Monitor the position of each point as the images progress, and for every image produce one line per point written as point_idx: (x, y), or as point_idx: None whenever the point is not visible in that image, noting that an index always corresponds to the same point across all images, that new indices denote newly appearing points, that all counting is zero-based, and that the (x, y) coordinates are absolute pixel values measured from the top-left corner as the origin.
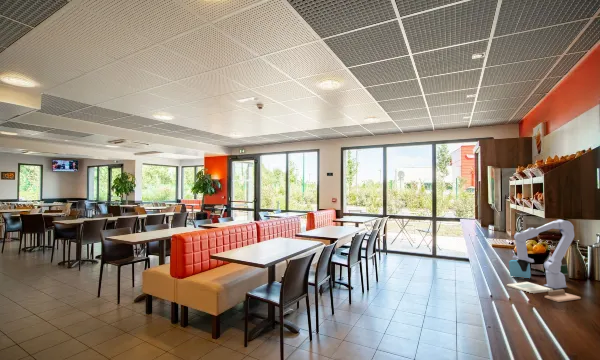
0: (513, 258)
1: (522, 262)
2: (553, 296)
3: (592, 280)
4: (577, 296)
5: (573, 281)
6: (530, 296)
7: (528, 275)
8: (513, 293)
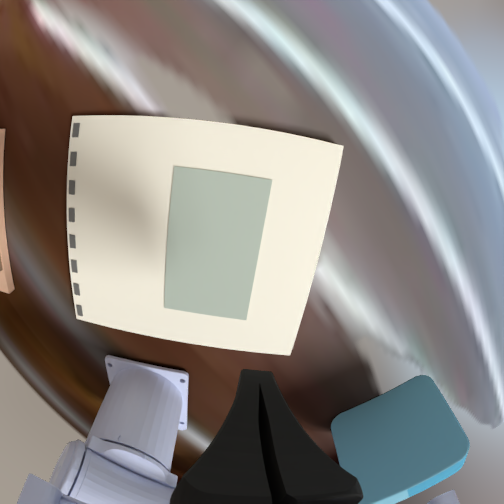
0: (441, 498)
1: (189, 486)
2: None
3: None
4: None
5: None
6: (52, 66)
7: (339, 432)
8: (153, 8)
